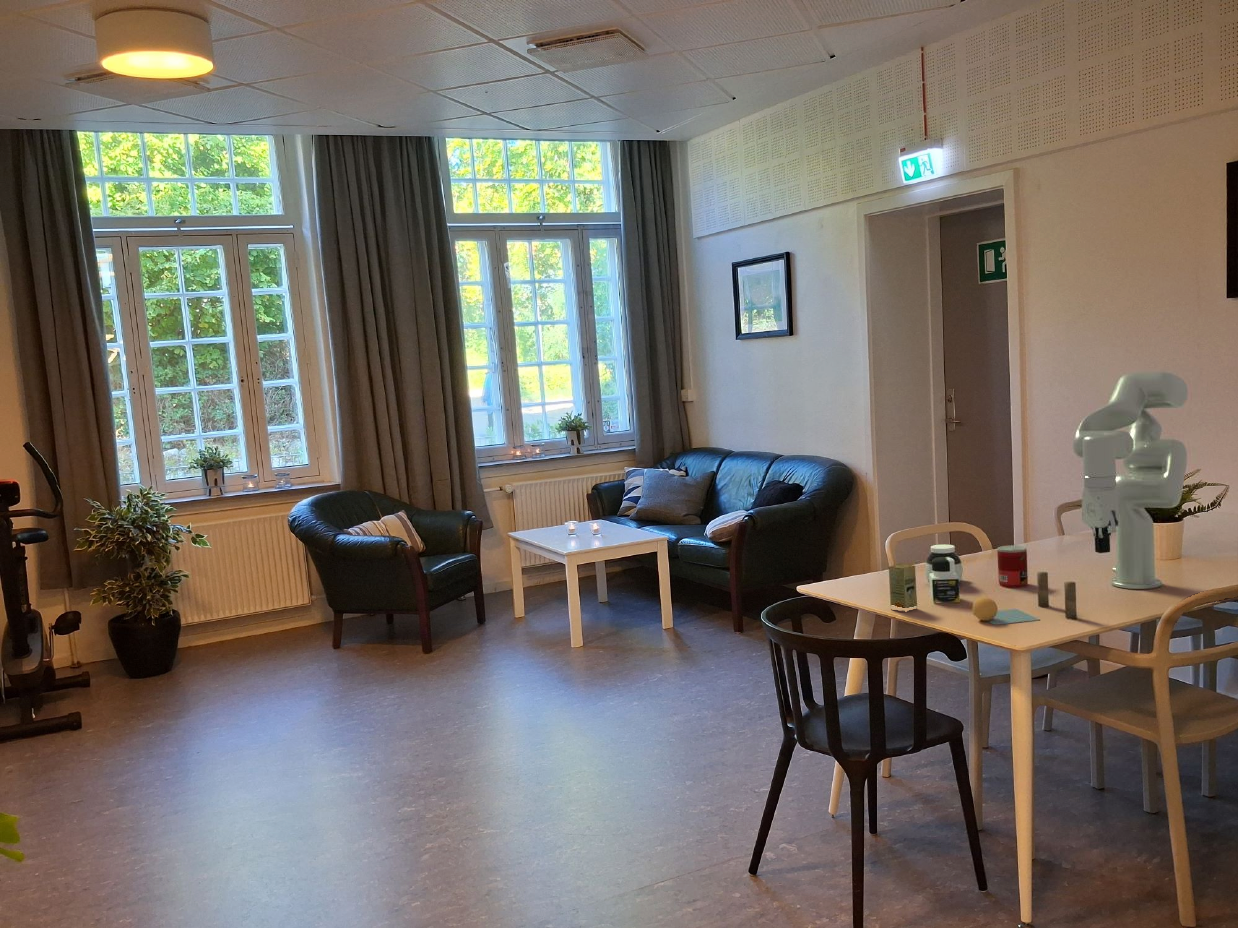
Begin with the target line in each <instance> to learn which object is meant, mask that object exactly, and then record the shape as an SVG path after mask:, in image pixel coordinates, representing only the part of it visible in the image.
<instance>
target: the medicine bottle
mask: <svg viewBox="0 0 1238 928" xmlns="http://www.w3.org/2000/svg"><path fill="white" fill-rule="evenodd" d="M929 581H930V583H929V597H930V596H931V597H930V599H931V598H932V599H931V601H932V600H933V601H932V603H933V602H959V603H960V601H961V598H960V583H959V578H958V576H957V575H956V573H955V562H954V559H952V558H949V557H938V558H935V559H933V560H932V573H930V574H929Z"/></svg>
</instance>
